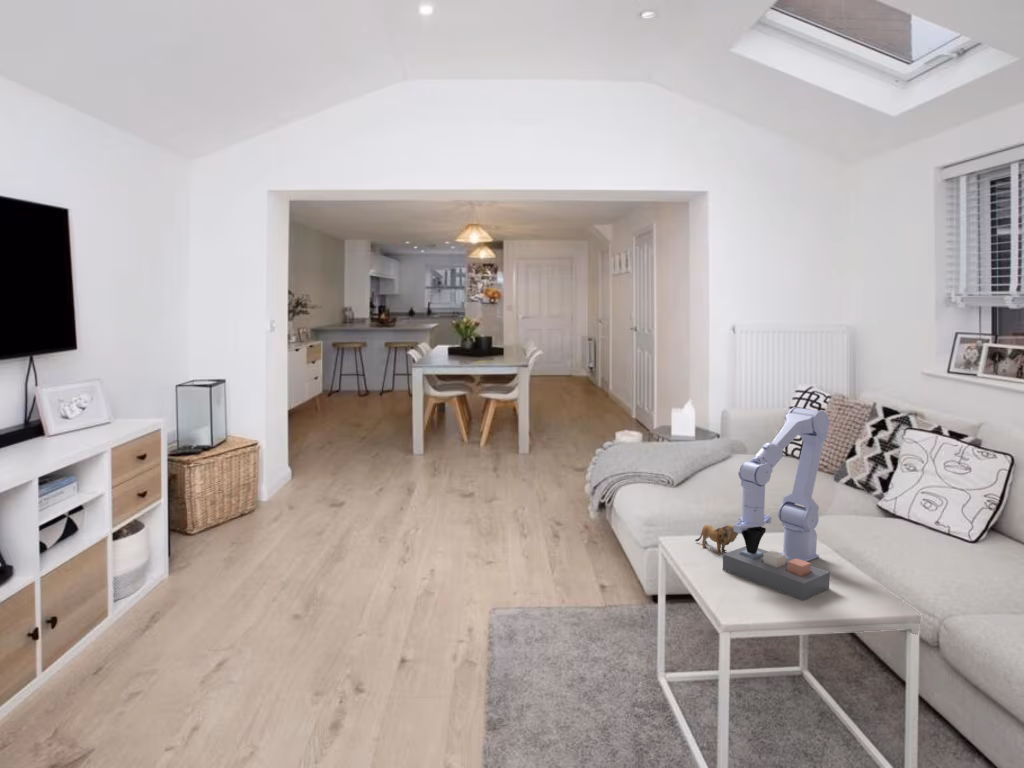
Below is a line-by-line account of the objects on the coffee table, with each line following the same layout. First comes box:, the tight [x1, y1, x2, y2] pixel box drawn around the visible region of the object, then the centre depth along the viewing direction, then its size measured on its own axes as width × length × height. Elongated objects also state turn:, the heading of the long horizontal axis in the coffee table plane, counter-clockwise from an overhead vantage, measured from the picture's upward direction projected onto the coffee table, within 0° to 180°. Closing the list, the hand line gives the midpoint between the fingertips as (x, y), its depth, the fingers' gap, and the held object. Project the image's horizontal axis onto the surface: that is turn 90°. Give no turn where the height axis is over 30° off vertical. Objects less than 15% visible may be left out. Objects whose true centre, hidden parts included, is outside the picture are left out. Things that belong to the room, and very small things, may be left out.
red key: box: [787, 558, 812, 577], centre depth 164 cm, size 4×4×3 cm
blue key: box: [741, 550, 762, 560], centre depth 176 cm, size 4×4×3 cm
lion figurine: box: [694, 524, 739, 555], centre depth 192 cm, size 15×5×9 cm, turn 35°
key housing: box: [722, 545, 831, 602], centre depth 171 cm, size 12×24×4 cm, turn 35°
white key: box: [763, 549, 786, 568], centre depth 170 cm, size 4×4×3 cm
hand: (751, 552), depth 176 cm, fingers closed, pressing on blue key
